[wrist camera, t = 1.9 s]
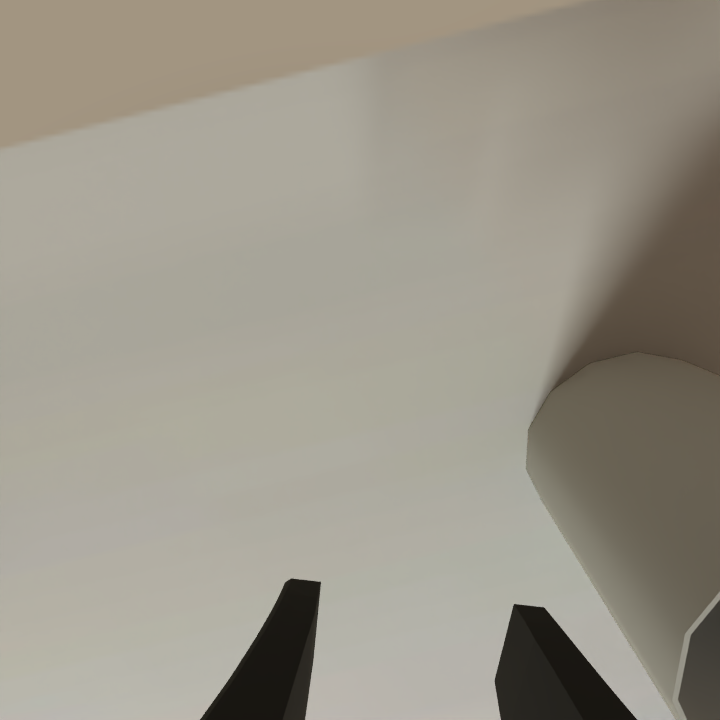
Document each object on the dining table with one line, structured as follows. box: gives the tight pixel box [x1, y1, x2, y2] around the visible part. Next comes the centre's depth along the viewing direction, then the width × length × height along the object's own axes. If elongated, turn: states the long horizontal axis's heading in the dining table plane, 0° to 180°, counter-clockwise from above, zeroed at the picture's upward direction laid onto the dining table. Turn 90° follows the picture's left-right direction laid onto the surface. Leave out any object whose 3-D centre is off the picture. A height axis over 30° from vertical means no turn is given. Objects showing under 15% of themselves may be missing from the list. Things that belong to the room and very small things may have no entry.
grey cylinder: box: [526, 352, 720, 720], centre depth 14 cm, size 8×8×10 cm
